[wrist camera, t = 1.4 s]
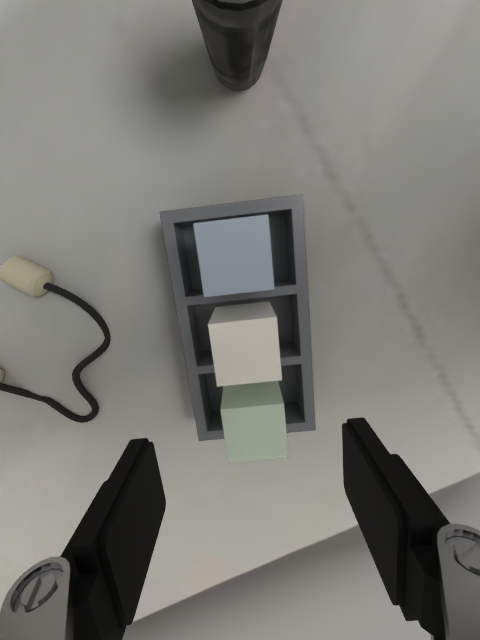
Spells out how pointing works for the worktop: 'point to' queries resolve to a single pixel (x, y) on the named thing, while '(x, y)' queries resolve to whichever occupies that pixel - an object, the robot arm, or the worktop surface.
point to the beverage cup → (237, 37)
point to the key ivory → (245, 344)
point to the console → (284, 300)
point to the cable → (40, 281)
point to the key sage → (254, 422)
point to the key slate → (235, 255)
